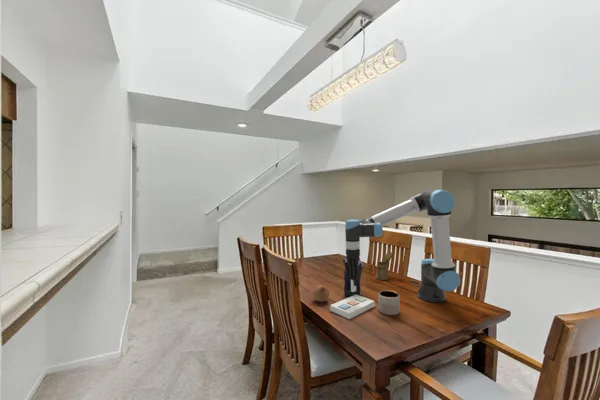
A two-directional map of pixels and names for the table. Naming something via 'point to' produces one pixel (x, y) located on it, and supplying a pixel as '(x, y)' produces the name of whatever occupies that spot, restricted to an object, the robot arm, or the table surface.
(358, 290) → the navy blue cylinder
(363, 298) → the button two dots
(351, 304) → the button three dots
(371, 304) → the button panel
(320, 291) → the onion
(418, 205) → the robot arm
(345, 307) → the button one dot
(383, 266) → the wooden mug
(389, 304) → the planter
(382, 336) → the table surface
